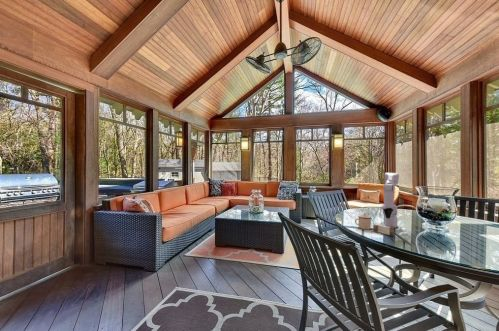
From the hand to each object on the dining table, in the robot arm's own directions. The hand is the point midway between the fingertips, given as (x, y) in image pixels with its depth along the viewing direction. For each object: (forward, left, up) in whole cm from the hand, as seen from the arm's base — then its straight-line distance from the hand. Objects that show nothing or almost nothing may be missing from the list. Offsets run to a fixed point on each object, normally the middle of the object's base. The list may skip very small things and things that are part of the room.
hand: (387, 218), depth 177 cm
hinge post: (+7, +8, -10) cm, 15 cm away
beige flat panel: (+8, +1, -9) cm, 12 cm away
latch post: (+9, -4, -10) cm, 14 cm away
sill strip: (+7, +1, -10) cm, 12 cm away
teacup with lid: (+9, -14, -10) cm, 20 cm away
